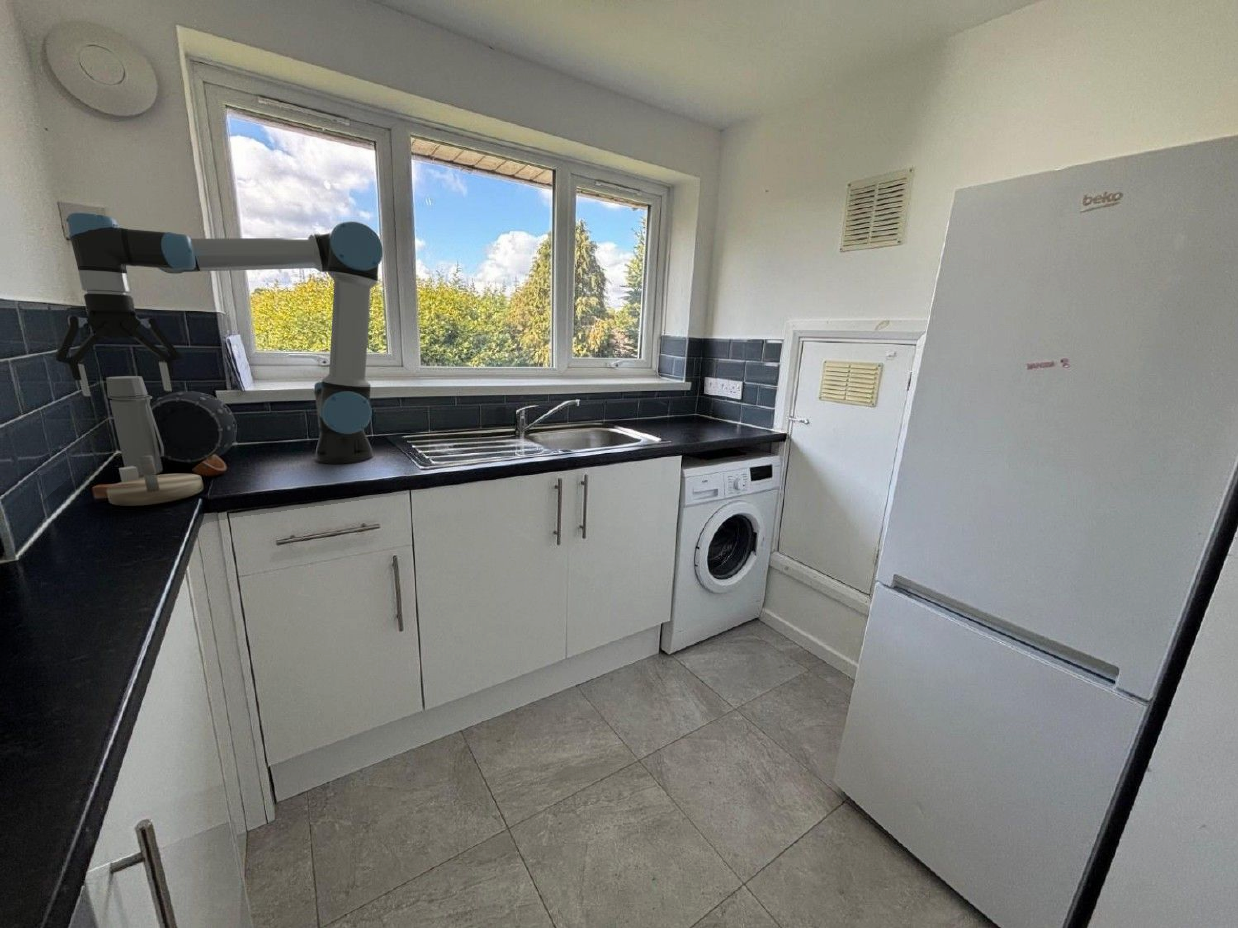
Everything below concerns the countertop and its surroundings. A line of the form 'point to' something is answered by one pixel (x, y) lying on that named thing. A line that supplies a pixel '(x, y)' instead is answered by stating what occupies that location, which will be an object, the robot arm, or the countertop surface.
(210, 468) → the fruit slice
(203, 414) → the grey dotted bowl
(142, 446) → the water bottle
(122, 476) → the grey rectangular block
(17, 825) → the countertop surface
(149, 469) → the beige round piece
